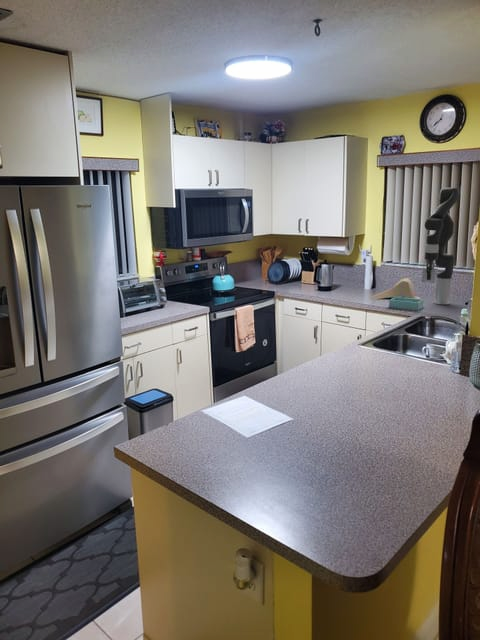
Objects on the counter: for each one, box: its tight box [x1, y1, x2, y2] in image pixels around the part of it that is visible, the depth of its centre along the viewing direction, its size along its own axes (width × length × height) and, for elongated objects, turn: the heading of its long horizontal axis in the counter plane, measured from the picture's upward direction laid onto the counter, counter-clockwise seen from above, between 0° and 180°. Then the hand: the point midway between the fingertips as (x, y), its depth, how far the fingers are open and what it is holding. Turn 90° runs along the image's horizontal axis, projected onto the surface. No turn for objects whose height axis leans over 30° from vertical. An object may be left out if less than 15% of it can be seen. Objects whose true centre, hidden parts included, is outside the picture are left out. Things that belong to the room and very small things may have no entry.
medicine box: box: [421, 267, 439, 284], centre depth 303 cm, size 8×4×9 cm, turn 49°
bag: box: [369, 277, 421, 300], centre depth 347 cm, size 19×17×35 cm
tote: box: [388, 296, 424, 312], centre depth 314 cm, size 15×18×5 cm
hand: (429, 279), depth 304 cm, fingers closed on medicine box, 5 cm apart
